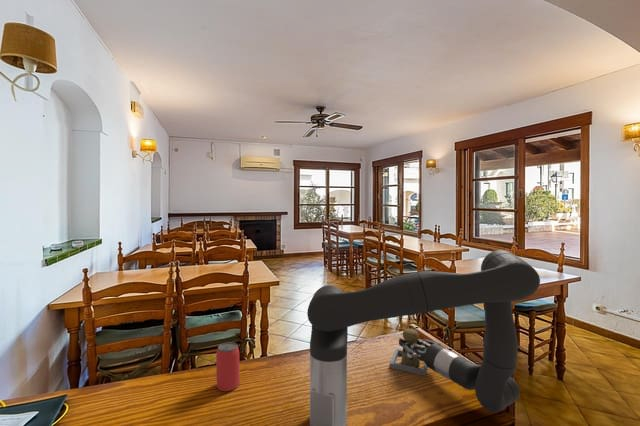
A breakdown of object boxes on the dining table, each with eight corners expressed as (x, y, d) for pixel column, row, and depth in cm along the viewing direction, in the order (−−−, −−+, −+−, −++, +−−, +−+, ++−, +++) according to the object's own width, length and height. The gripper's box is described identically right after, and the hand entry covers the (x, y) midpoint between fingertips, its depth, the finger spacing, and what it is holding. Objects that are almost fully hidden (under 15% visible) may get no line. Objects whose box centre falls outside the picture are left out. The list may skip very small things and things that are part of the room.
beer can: (211, 388, 92) (211, 348, 91) (227, 377, 97) (227, 339, 97) (228, 395, 89) (228, 353, 88) (244, 383, 94) (243, 344, 94)
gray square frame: (426, 375, 98) (426, 370, 98) (389, 367, 103) (389, 363, 103) (429, 358, 109) (429, 354, 109) (395, 352, 114) (396, 348, 113)
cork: (420, 367, 102) (420, 334, 102) (401, 365, 104) (401, 332, 103) (418, 358, 108) (418, 327, 108) (400, 357, 109) (400, 325, 109)
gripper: (461, 344, 96) (420, 325, 111) (426, 354, 90) (388, 332, 105) (460, 368, 96) (419, 346, 112) (426, 380, 90) (388, 355, 105)
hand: (404, 340), depth 108 cm, fingers closed on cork, 4 cm apart
